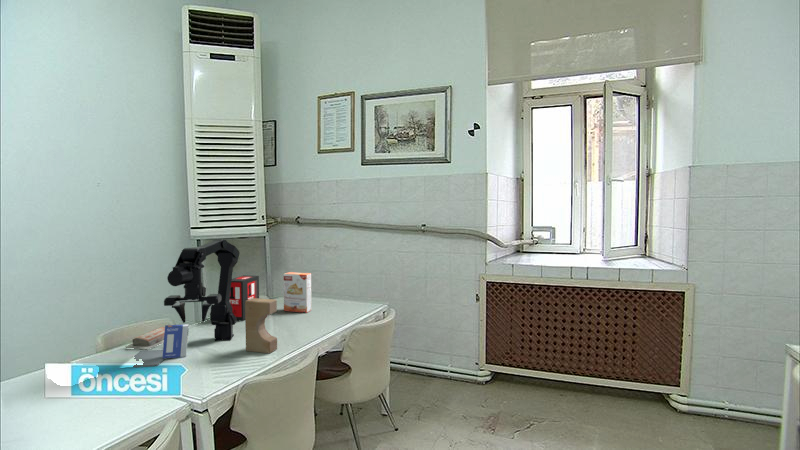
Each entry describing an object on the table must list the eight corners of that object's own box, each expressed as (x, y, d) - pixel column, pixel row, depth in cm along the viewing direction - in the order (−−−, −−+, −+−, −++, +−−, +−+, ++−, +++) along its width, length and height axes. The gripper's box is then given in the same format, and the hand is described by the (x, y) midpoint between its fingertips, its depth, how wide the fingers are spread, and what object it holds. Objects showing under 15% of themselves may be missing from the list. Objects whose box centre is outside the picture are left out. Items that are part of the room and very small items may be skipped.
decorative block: (277, 349, 159) (277, 299, 159) (269, 354, 154) (268, 302, 153) (254, 346, 163) (253, 297, 162) (245, 351, 157) (244, 300, 156)
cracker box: (283, 311, 218) (282, 273, 217) (289, 308, 224) (288, 271, 223) (306, 313, 214) (306, 274, 213) (311, 310, 220) (311, 272, 219)
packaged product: (158, 325, 177) (178, 326, 175) (158, 336, 177) (179, 337, 176) (124, 338, 159) (147, 339, 158) (125, 350, 159) (147, 351, 158)
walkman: (162, 358, 147) (165, 326, 147) (162, 356, 150) (165, 324, 150) (186, 356, 151) (189, 325, 151) (186, 354, 154) (189, 323, 153)
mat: (173, 350, 158) (173, 348, 158) (157, 366, 142) (157, 364, 142) (140, 352, 156) (140, 350, 156) (119, 368, 140) (119, 366, 140)
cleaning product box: (243, 321, 199) (242, 281, 199) (226, 320, 201) (225, 280, 200) (259, 312, 216) (258, 275, 215) (243, 311, 217) (243, 275, 216)
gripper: (224, 276, 160) (225, 315, 161) (174, 278, 157) (175, 317, 158) (217, 281, 149) (218, 323, 150) (162, 283, 146) (163, 325, 147)
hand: (193, 322), depth 151 cm, fingers open, 6 cm apart
